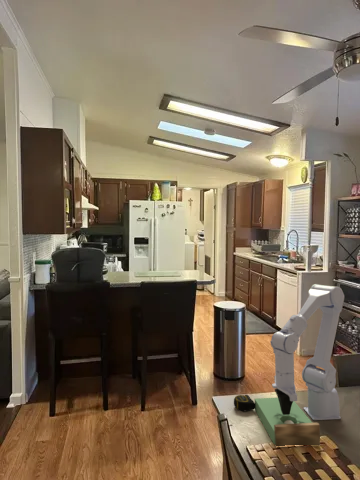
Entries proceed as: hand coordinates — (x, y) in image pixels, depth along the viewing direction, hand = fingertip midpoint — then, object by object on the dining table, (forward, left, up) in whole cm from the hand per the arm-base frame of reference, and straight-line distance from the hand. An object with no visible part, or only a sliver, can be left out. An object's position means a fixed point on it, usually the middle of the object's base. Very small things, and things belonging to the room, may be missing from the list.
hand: (285, 413), depth 106 cm
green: (0, -2, -5) cm, 5 cm away
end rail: (0, +9, -5) cm, 10 cm away
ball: (0, +2, -3) cm, 4 cm away
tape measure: (+10, -15, -5) cm, 18 cm away
